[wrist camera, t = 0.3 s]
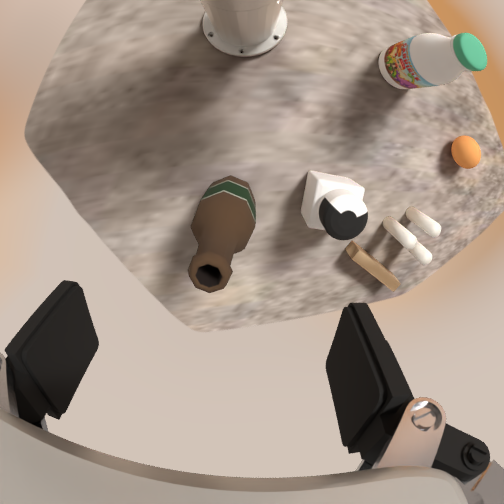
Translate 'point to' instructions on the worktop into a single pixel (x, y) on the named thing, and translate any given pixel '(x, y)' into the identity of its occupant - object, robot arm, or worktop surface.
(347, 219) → the medicine bottle
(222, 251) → the beer bottle
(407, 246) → the pin
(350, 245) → the bar
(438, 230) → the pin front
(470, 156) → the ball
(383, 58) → the milk bottle
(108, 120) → the worktop surface
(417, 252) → the pin
